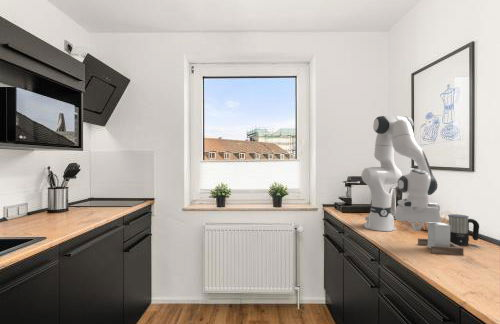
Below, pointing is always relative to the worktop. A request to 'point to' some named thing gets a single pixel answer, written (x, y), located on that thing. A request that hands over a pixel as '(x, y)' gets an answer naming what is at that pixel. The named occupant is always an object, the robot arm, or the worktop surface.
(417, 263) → the worktop surface
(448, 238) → the supplement box
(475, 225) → the milk frother
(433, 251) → the walnut corral
